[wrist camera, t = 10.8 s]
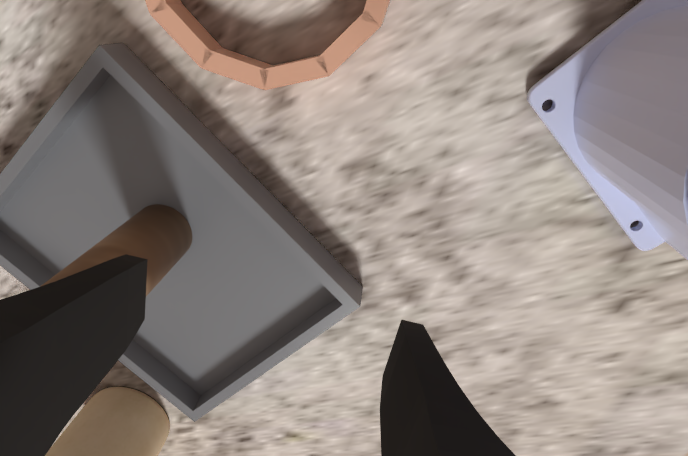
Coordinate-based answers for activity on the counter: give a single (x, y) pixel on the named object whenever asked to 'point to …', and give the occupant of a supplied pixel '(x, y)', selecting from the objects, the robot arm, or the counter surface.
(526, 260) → the counter surface
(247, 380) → the tray
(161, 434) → the candle
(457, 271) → the counter surface
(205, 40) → the ring
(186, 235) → the dowel
